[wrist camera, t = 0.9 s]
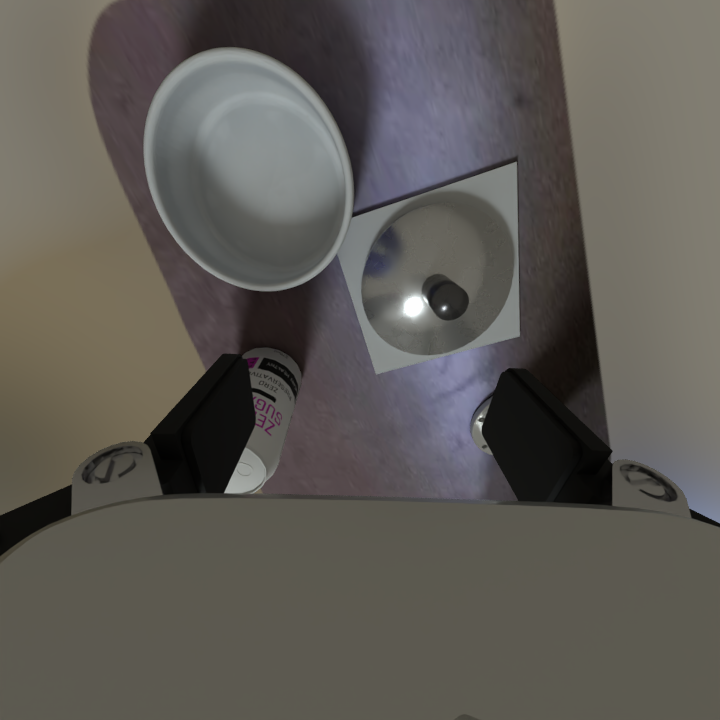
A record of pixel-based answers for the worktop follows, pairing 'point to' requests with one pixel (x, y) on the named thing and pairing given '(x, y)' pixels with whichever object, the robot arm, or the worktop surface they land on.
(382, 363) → the mat
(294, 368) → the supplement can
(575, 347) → the worktop surface
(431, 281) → the lid
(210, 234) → the dog bowl
